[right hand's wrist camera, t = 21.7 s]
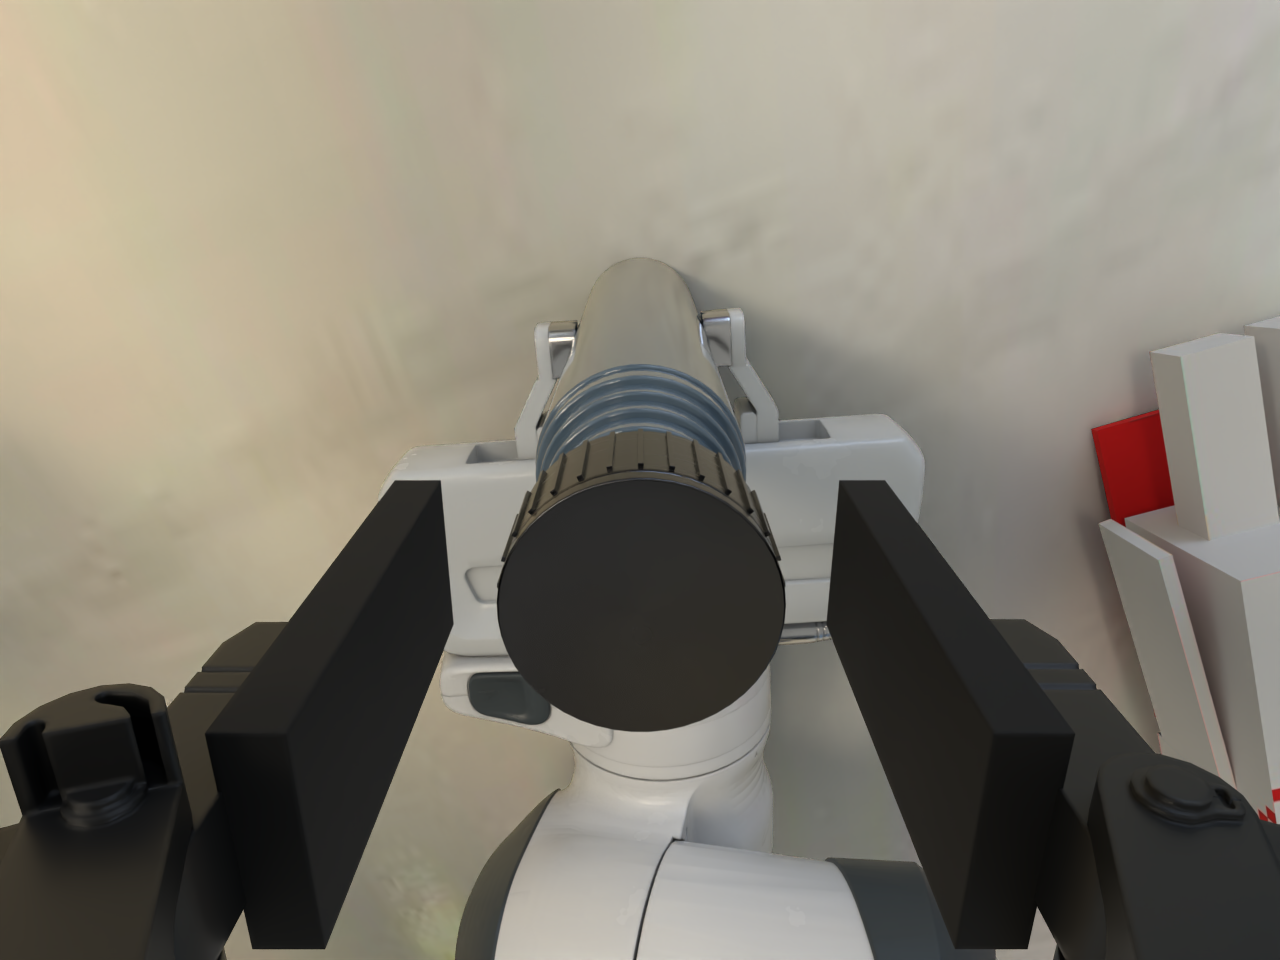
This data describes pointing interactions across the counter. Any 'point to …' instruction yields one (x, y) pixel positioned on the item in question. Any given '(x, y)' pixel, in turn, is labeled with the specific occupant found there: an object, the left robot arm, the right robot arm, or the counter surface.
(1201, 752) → the toy
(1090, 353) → the counter surface
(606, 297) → the bottle
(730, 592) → the cap
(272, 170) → the counter surface
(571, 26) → the counter surface
